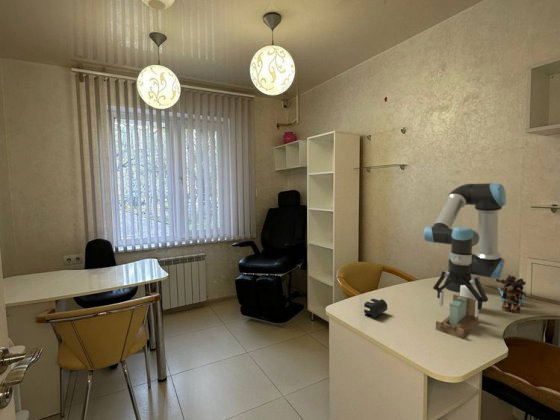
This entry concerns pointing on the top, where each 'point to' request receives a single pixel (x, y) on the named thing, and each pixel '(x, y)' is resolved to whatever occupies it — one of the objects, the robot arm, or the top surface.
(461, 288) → the pill bottle
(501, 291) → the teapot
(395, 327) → the top surface
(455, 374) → the top surface
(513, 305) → the figurine
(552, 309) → the top surface
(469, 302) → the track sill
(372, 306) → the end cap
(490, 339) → the top surface
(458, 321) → the door panel
